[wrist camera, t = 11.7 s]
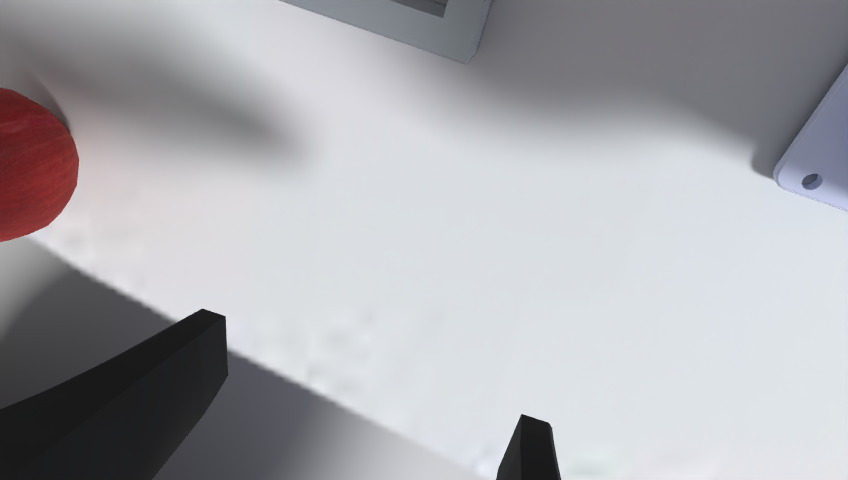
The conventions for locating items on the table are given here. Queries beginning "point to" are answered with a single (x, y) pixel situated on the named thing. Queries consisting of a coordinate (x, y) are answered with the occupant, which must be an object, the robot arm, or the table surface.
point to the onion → (32, 166)
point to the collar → (413, 22)
